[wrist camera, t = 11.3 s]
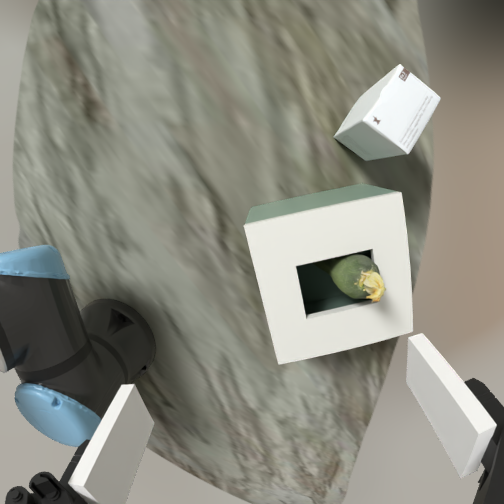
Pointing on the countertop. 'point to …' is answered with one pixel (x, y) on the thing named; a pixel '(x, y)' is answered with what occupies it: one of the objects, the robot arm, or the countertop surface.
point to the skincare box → (388, 116)
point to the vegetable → (354, 275)
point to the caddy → (321, 283)
